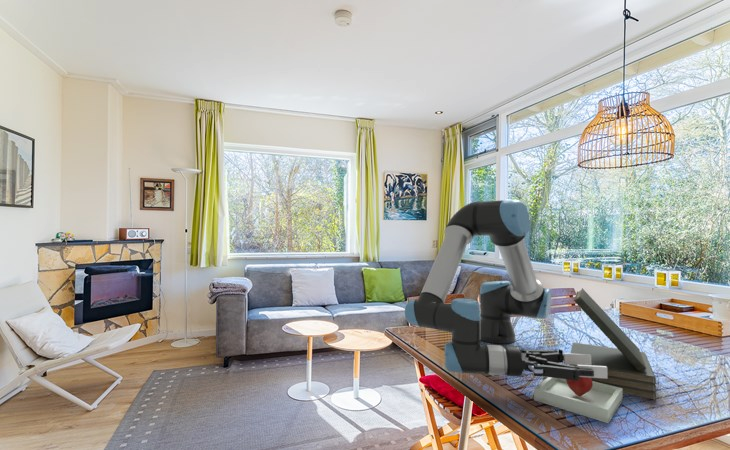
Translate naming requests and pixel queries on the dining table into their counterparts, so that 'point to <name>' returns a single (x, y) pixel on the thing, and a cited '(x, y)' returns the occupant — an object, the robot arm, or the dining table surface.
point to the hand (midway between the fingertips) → (598, 365)
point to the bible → (616, 354)
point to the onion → (580, 385)
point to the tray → (580, 398)
